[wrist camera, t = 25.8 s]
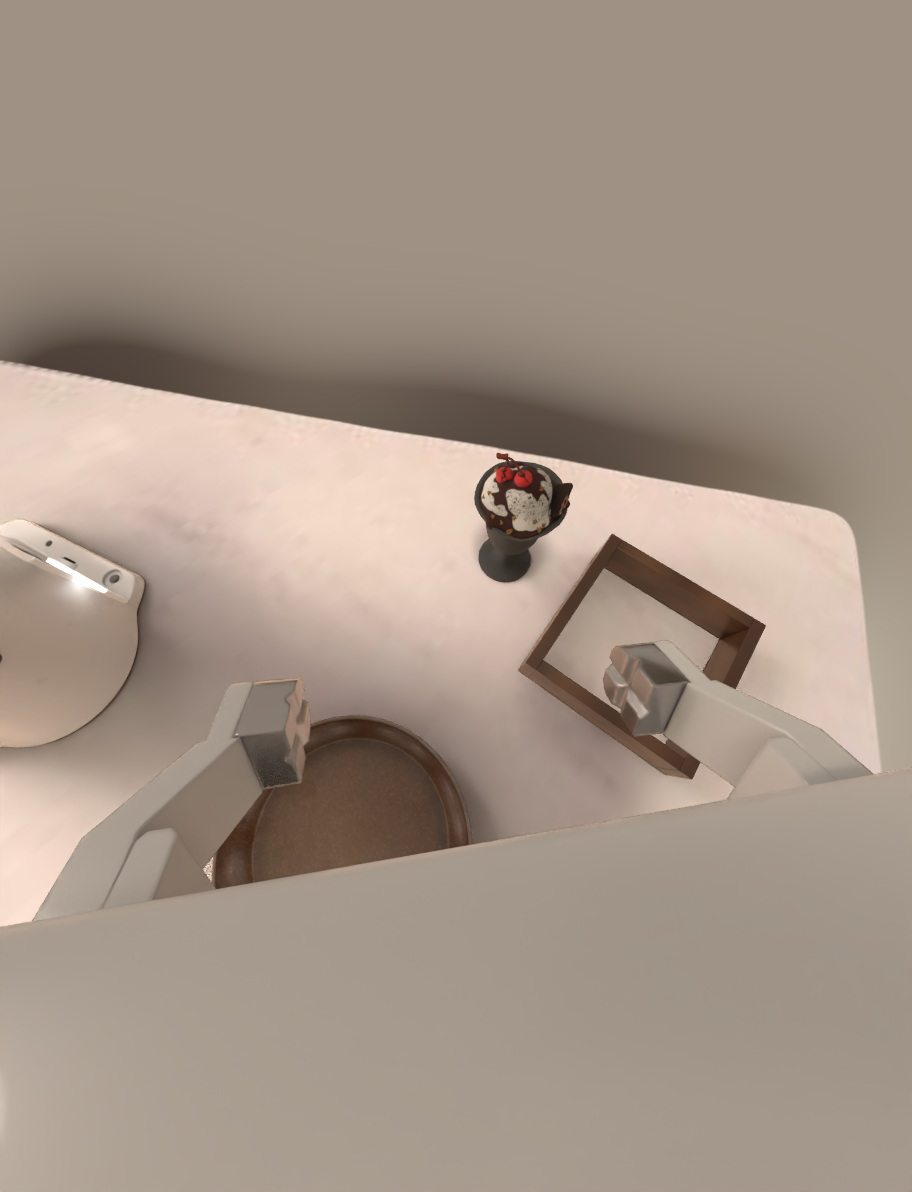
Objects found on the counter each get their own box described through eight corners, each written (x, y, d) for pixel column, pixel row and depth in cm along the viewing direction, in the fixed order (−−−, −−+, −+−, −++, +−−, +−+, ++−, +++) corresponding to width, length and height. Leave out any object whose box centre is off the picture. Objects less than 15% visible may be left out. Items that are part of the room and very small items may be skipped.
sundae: (454, 553, 38) (456, 443, 24) (507, 516, 39) (538, 391, 25) (499, 605, 36) (529, 519, 22) (553, 563, 37) (613, 458, 23)
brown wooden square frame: (517, 670, 34) (525, 662, 30) (597, 552, 38) (612, 533, 34) (665, 775, 31) (692, 780, 28) (734, 636, 35) (766, 625, 32)
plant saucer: (401, 1048, 26) (395, 1087, 23) (183, 907, 28) (152, 926, 25) (507, 779, 31) (512, 783, 28) (316, 681, 34) (304, 676, 31)
